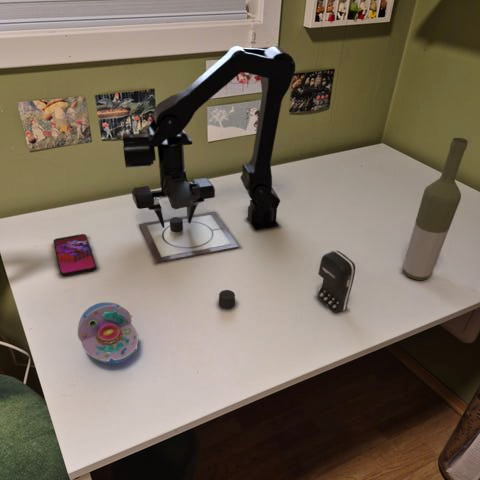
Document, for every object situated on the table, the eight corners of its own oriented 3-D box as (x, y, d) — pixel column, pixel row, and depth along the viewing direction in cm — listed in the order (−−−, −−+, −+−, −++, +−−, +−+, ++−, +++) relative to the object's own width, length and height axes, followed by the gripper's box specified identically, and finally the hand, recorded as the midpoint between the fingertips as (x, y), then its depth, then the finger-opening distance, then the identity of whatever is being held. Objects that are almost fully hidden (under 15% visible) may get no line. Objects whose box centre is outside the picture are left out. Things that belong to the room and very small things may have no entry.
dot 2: (231, 298, 97) (231, 288, 96) (237, 307, 95) (237, 297, 93) (216, 301, 96) (216, 291, 95) (222, 310, 94) (222, 301, 92)
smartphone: (60, 274, 100) (52, 238, 111) (61, 277, 101) (53, 242, 111) (96, 267, 103) (85, 233, 113) (97, 270, 103) (86, 236, 113)
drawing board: (214, 213, 124) (214, 210, 124) (238, 247, 112) (239, 245, 111) (139, 225, 118) (139, 223, 118) (156, 263, 106) (156, 261, 105)
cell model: (98, 384, 79) (87, 343, 72) (76, 341, 86) (64, 301, 80) (152, 362, 83) (147, 322, 76) (127, 323, 90) (120, 284, 84)
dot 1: (181, 225, 118) (180, 216, 116) (184, 231, 116) (184, 222, 114) (168, 227, 117) (168, 218, 115) (172, 233, 115) (171, 224, 113)
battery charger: (311, 297, 98) (319, 251, 90) (326, 292, 99) (334, 246, 92) (332, 316, 94) (342, 269, 86) (347, 310, 95) (358, 264, 87)
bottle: (438, 276, 105) (489, 143, 85) (417, 286, 102) (464, 150, 82) (414, 261, 109) (457, 130, 89) (393, 270, 106) (432, 137, 86)
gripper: (138, 184, 97) (146, 248, 107) (222, 172, 102) (222, 234, 113) (127, 163, 105) (136, 225, 115) (206, 153, 110) (208, 213, 120)
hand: (176, 224), depth 115 cm, fingers open, 6 cm apart
